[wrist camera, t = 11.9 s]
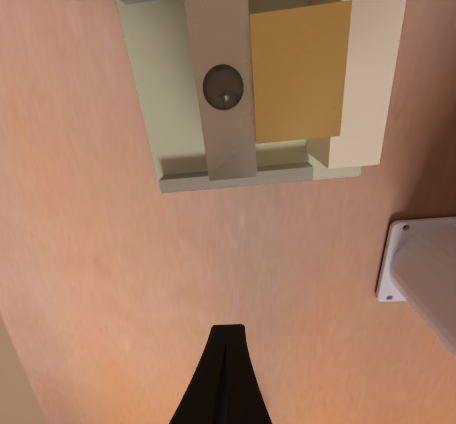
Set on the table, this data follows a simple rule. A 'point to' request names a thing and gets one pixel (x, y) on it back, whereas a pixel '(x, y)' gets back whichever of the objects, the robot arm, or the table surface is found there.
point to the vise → (266, 152)
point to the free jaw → (224, 85)
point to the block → (299, 71)
